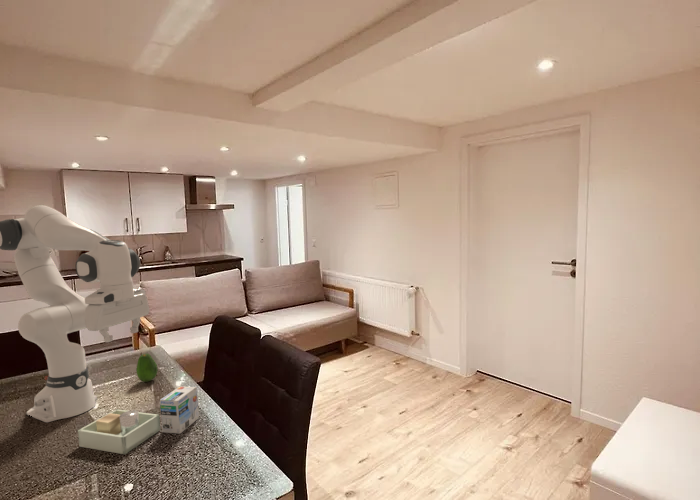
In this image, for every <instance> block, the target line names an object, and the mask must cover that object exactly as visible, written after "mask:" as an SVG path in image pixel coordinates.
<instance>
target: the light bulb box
mask: <svg viewBox="0 0 700 500" xmlns="http://www.w3.org/2000/svg"><path fill="white" fill-rule="evenodd" d="M159 407H160V408H159V409H160V416H161V417H160V418H161V419H160V420H161V428H162V429H161V431H162V433H167V434H182V433H183V432H184V431H185V430H187V429H188V428H189V427H190V426H191V425H193V424H194V423H195V422H196V421H197V420H198V419H199V418H200V413H199V400H198V389H197V386H184V385H183V386H182V385H181V386H178V387H177V388H174V390H173V391H170V392H169V393H168V394H166V395H165V396H163V397H162V398H160V399H159Z"/></svg>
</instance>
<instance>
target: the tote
mask: <svg viewBox="0 0 700 500" xmlns="http://www.w3.org/2000/svg"><path fill="white" fill-rule="evenodd" d="M127 411H128V410H127V409H125V410H124V409H118V408H117V409H114V410H113V411H111V412H109V413H106V414H105V415H104V416H106V415H108V414H110V413H112V414H120V415H121V414H122V413H124V412H127ZM104 416H101V417H100V418H98V419H96V420H94V421H92V422H90V423H89V424H87V425H85V426H83V427H82V428H80V429H78V430H77V436H78V437H77V438H78V445H79V447H80V448H86V449H92V450H96V451H97V450H98V451H103V452H109V453H114V454H115V453H116V454H119V455H127V454H128V453H129V452H131V451H132V450H133V449H136V447H138V446H140V445H141V444H142V443H144V442H145V441H146V440H148V439H150V438H151V437H152V436H154V435H155V434H156V433H158V432H159V431H162V429H161V428H162V427H161V419H160V418H161V417H160V414H159V413H158V414H155V413H150V412H149V413H148V412H141V411H138V416H139V426H138V427H137V428H135V429H133V430H132V431H130V432H129V433H127V434H126V435H124V436H121V432H120V433H118V434H117V435H114V434H108V433H101V432H97V425H96V421H97V420H99V419H101V418H103V417H104Z"/></svg>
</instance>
